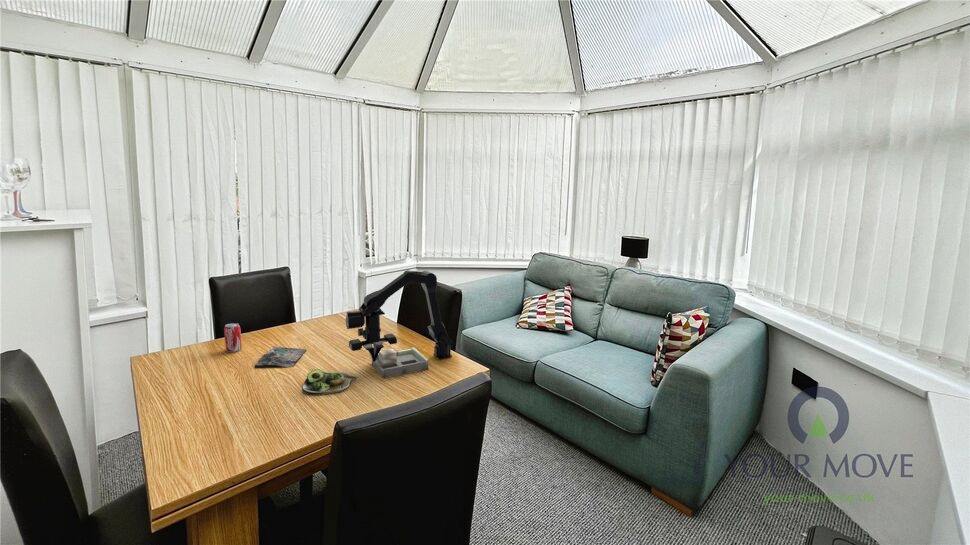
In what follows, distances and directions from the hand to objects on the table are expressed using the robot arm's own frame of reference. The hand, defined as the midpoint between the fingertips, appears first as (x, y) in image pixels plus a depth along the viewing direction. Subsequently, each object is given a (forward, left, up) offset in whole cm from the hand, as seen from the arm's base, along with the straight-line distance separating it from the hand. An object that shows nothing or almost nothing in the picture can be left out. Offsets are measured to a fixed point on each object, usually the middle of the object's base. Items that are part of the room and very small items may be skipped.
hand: (373, 361), depth 181 cm
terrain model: (+32, -27, -4) cm, 42 cm away
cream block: (-6, 0, -1) cm, 6 cm away
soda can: (+49, -46, -3) cm, 67 cm away
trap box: (-10, +3, -3) cm, 11 cm away
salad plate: (+21, +7, -3) cm, 22 cm away
